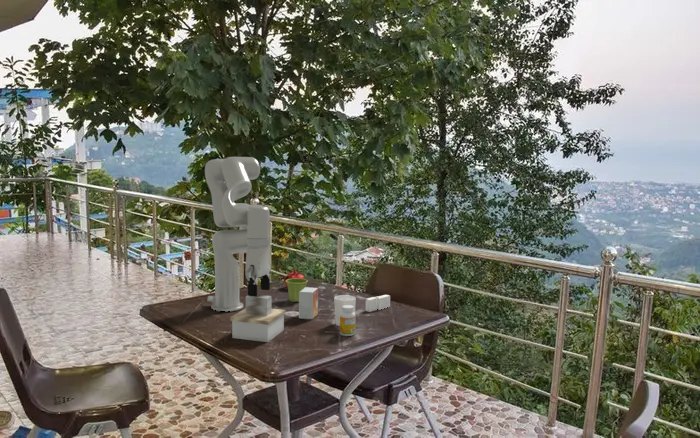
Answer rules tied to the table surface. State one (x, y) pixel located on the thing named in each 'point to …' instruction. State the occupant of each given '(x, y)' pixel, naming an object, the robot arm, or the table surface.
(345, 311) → the supplement bottle
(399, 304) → the table surface
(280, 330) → the shallow square tray
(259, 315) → the cover plate
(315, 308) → the small box
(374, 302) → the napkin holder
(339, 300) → the white cup
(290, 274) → the pomegranate
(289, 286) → the plant pot
